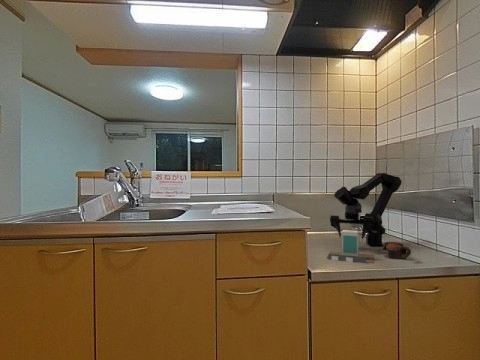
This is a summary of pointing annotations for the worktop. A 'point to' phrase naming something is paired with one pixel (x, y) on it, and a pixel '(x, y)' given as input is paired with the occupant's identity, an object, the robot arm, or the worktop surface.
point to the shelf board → (368, 257)
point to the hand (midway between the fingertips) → (351, 237)
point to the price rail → (347, 258)
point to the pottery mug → (396, 250)
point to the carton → (350, 243)
